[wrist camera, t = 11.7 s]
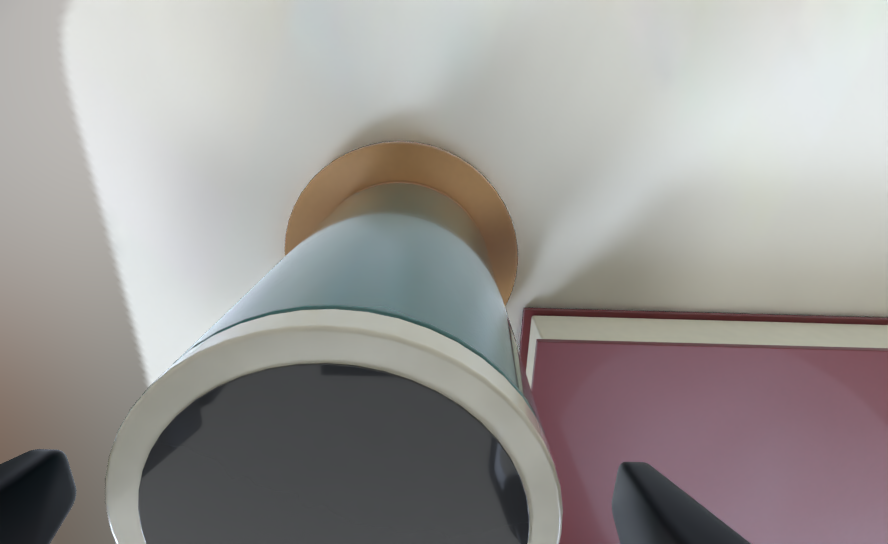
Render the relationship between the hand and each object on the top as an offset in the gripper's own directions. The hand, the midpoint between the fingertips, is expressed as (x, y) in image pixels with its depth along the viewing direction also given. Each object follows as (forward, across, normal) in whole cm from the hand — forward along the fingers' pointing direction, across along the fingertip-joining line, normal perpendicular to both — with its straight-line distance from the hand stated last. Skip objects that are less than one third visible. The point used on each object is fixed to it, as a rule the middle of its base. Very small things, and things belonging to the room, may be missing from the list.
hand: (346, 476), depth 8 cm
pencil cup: (+10, 0, +5) cm, 11 cm away
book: (+12, -16, +10) cm, 22 cm away
